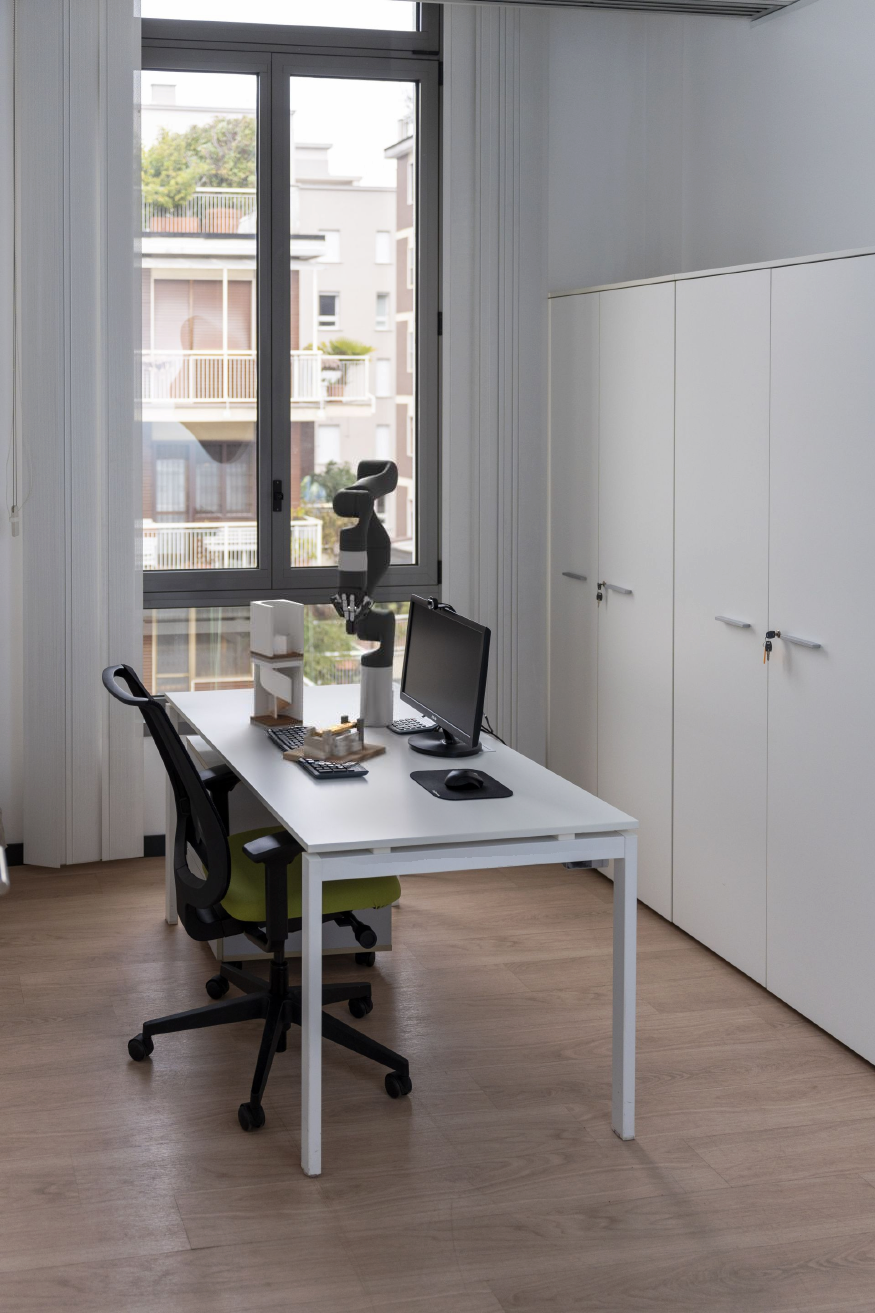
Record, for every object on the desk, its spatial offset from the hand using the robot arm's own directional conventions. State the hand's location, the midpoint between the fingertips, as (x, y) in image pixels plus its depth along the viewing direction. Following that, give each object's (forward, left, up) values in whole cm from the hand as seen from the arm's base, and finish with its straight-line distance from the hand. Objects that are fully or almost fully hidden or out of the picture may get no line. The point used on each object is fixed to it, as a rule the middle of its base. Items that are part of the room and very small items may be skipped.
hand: (351, 634), depth 345 cm
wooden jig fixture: (+7, 0, -31) cm, 32 cm away
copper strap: (+6, 0, -25) cm, 26 cm away
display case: (-12, -33, -31) cm, 47 cm away
